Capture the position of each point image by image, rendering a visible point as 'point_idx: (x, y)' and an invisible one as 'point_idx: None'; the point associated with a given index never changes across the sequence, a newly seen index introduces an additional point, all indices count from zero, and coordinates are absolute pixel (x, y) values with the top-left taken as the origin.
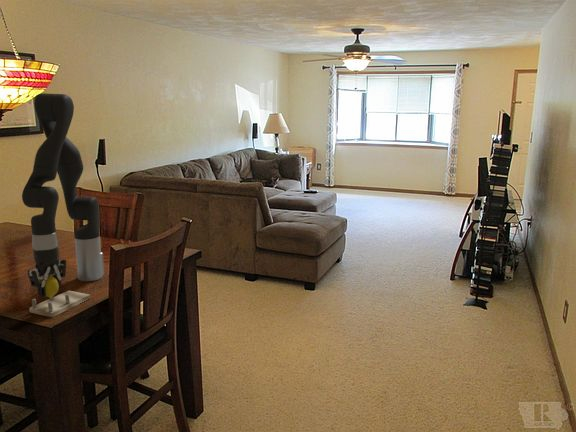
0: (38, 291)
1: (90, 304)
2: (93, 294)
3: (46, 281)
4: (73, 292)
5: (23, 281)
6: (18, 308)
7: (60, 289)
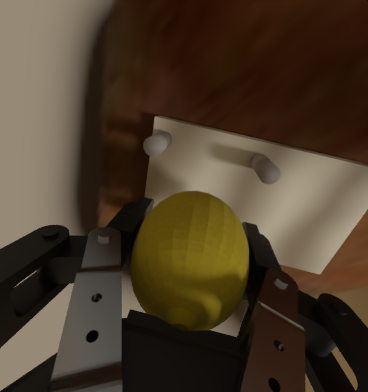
0: (114, 220)
1: None
2: (358, 257)
3: (137, 297)
4: (356, 207)
5: None
6: (185, 18)
7: None
